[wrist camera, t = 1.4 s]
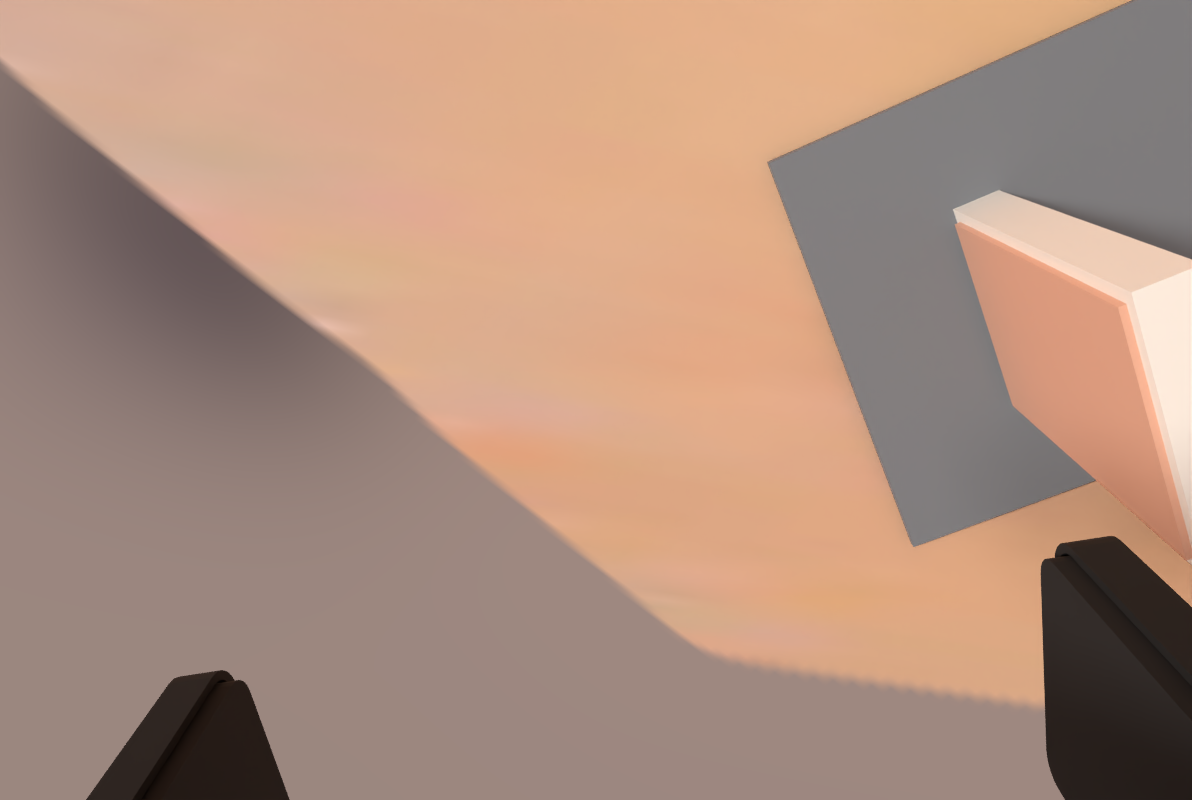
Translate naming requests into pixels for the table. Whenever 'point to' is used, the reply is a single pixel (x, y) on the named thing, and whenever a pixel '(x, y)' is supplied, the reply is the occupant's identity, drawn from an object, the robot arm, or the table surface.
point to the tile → (1093, 348)
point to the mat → (936, 259)
